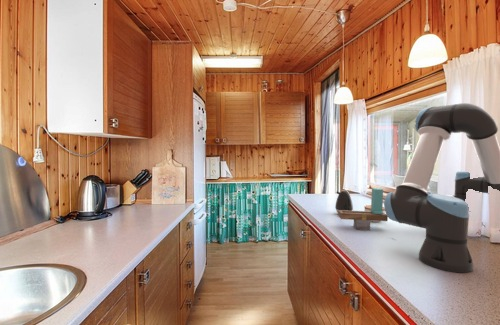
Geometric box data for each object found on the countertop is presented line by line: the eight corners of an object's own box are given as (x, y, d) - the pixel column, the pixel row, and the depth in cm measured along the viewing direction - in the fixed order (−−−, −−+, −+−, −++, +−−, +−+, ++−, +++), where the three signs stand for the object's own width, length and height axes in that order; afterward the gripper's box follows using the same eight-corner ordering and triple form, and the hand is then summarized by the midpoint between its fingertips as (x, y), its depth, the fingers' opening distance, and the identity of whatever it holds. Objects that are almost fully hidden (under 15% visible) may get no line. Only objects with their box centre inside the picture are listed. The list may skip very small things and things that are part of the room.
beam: (387, 231, 129) (387, 215, 128) (340, 229, 131) (341, 213, 131) (381, 227, 136) (382, 211, 135) (337, 225, 138) (338, 210, 138)
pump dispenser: (331, 212, 166) (332, 189, 166) (346, 212, 168) (347, 188, 168) (340, 216, 156) (341, 191, 156) (356, 216, 158) (356, 191, 158)
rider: (383, 220, 129) (384, 189, 128) (374, 219, 129) (375, 189, 129) (378, 216, 135) (379, 188, 135) (370, 216, 136) (371, 187, 135)
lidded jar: (380, 218, 154) (380, 202, 153) (388, 223, 143) (388, 206, 143) (361, 217, 155) (361, 202, 154) (367, 222, 144) (368, 205, 144)
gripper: (450, 213, 122) (396, 211, 125) (434, 207, 135) (385, 205, 138) (451, 197, 122) (397, 195, 125) (434, 193, 135) (386, 191, 138)
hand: (391, 200), depth 131 cm, fingers closed
